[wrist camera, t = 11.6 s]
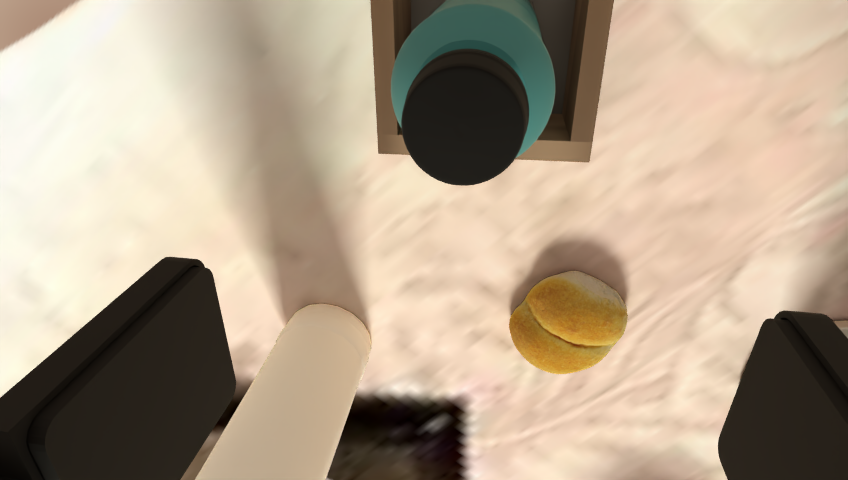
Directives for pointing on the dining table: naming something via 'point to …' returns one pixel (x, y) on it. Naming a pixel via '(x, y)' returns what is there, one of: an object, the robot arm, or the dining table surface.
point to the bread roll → (568, 322)
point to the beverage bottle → (473, 88)
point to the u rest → (568, 49)
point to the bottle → (295, 401)
